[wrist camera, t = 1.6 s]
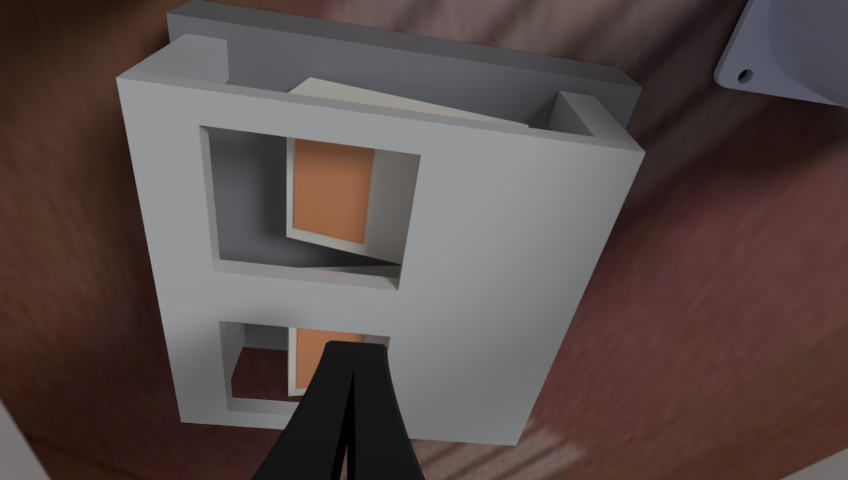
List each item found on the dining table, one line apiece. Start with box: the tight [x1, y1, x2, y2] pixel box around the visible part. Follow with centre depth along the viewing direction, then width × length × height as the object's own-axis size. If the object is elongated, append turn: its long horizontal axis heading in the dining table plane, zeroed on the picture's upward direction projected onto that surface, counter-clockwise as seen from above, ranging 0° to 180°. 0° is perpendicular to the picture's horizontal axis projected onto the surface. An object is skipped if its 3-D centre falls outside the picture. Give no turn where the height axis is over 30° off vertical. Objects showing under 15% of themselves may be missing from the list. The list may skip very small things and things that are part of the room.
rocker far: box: [288, 266, 401, 396], centre depth 20 cm, size 7×5×2 cm
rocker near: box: [286, 77, 528, 264], centre depth 16 cm, size 7×5×2 cm
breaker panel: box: [116, 0, 646, 446], centre depth 19 cm, size 15×14×7 cm
